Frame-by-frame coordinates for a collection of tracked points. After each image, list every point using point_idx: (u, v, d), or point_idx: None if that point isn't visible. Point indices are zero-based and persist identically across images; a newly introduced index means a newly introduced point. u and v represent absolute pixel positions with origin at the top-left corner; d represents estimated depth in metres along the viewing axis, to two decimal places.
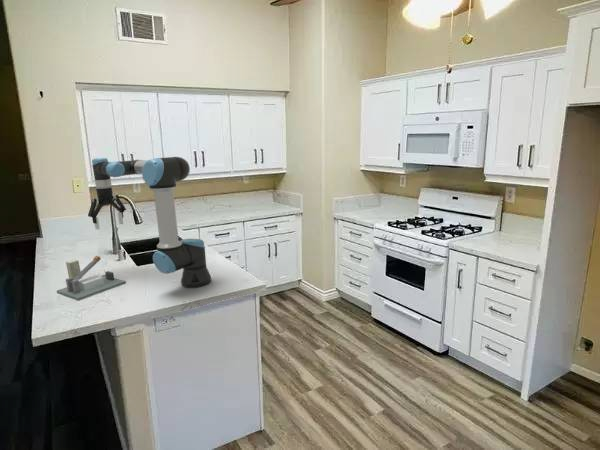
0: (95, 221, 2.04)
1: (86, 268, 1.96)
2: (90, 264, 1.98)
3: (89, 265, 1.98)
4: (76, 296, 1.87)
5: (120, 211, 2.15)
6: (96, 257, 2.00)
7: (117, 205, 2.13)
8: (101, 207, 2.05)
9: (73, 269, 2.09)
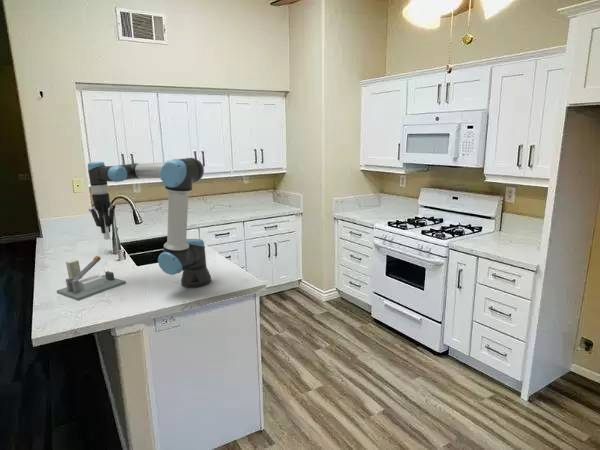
0: (104, 231, 1.97)
1: (86, 268, 1.96)
2: (90, 264, 1.98)
3: (89, 265, 1.98)
4: (76, 296, 1.87)
5: (107, 224, 1.98)
6: (96, 257, 2.00)
7: (108, 216, 1.98)
8: None
9: (73, 269, 2.09)
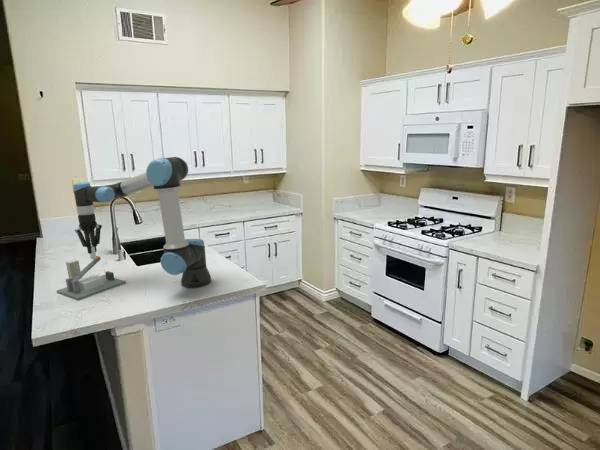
0: (90, 251, 1.97)
1: (86, 268, 1.96)
2: (90, 264, 1.98)
3: (89, 265, 1.98)
4: (76, 296, 1.87)
5: (93, 244, 1.98)
6: (96, 257, 2.00)
7: (94, 236, 1.98)
8: (89, 235, 1.95)
9: (73, 269, 2.09)
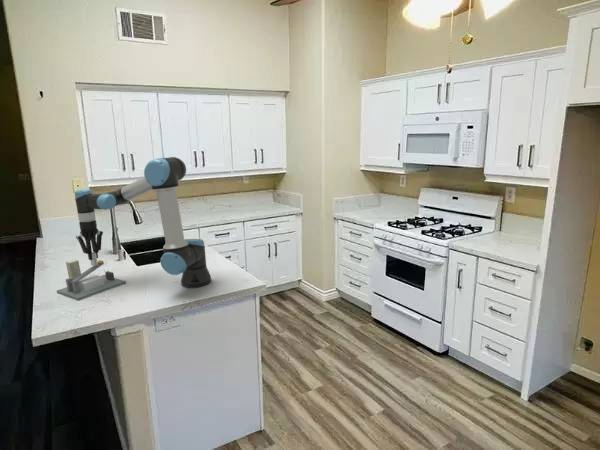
0: (91, 257, 1.98)
1: (88, 270, 1.97)
2: (93, 267, 1.99)
3: (91, 268, 1.99)
4: (76, 296, 1.87)
5: (94, 250, 1.99)
6: (100, 261, 2.02)
7: (96, 243, 1.99)
8: (90, 241, 1.96)
9: (73, 269, 2.09)
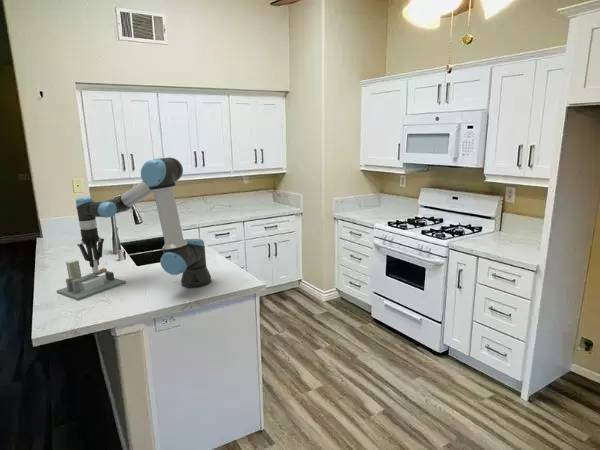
0: (92, 265, 1.99)
1: (90, 275, 1.98)
2: (95, 273, 2.01)
3: (94, 273, 2.00)
4: (76, 296, 1.87)
5: (95, 258, 2.00)
6: (103, 269, 2.04)
7: (97, 250, 1.99)
8: (91, 249, 1.97)
9: (73, 269, 2.09)
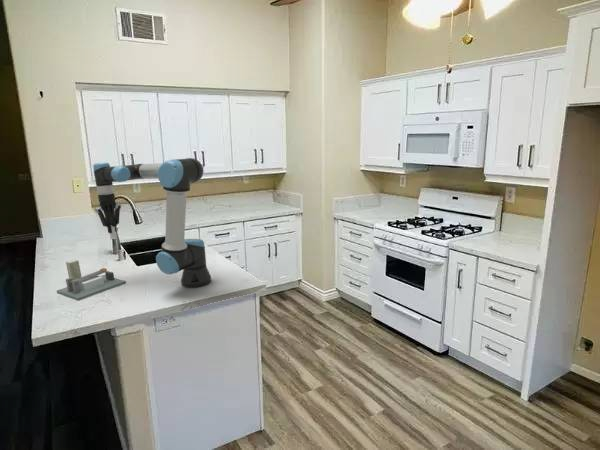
0: (110, 231, 2.00)
1: (90, 275, 1.98)
2: (95, 273, 2.01)
3: (94, 273, 2.00)
4: (76, 296, 1.87)
5: (113, 224, 2.01)
6: (103, 269, 2.04)
7: (114, 216, 2.01)
8: (109, 214, 1.98)
9: (73, 269, 2.09)
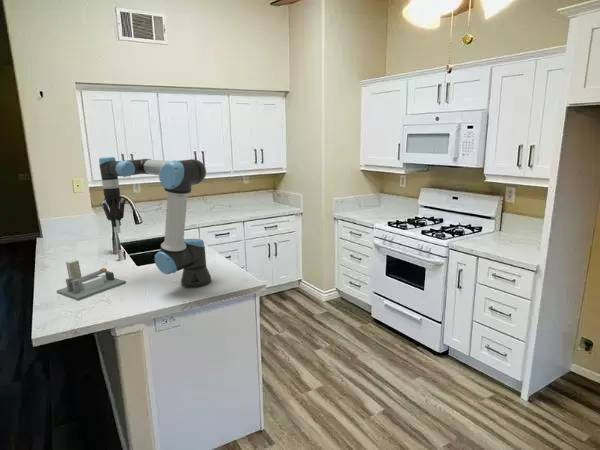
0: (115, 225, 2.01)
1: (90, 275, 1.98)
2: (95, 273, 2.01)
3: (94, 273, 2.00)
4: (76, 296, 1.87)
5: (117, 218, 2.02)
6: (103, 269, 2.04)
7: (119, 210, 2.02)
8: (114, 208, 2.00)
9: (73, 269, 2.09)
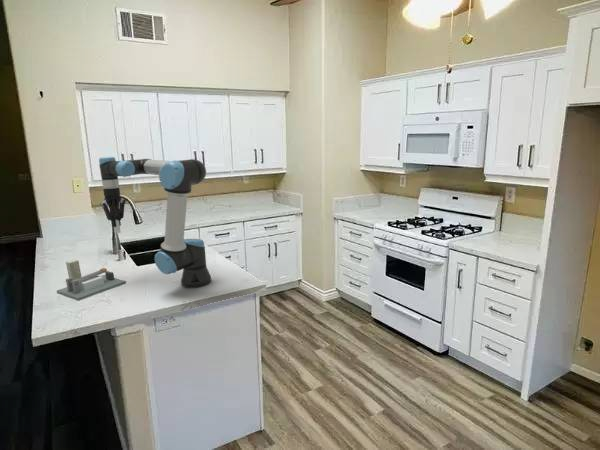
0: (115, 225, 2.01)
1: (90, 275, 1.98)
2: (95, 273, 2.01)
3: (94, 273, 2.00)
4: (76, 296, 1.87)
5: (117, 218, 2.02)
6: (103, 269, 2.04)
7: (119, 210, 2.02)
8: (114, 208, 2.00)
9: (73, 269, 2.09)
